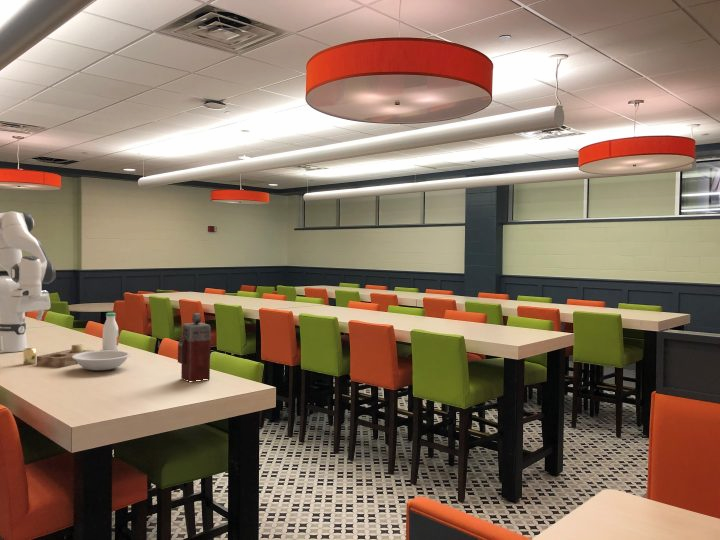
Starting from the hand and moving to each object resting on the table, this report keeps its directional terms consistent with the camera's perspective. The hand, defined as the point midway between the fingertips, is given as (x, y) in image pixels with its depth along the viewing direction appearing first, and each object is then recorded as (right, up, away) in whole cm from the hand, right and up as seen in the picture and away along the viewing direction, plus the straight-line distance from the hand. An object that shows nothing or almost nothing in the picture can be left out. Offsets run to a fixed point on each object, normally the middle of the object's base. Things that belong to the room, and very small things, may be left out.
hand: (30, 321), depth 260 cm
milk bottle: (+19, -19, +41) cm, 49 cm away
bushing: (-1, -20, 0) cm, 20 cm away
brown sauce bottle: (+82, -23, -23) cm, 88 cm away
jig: (+14, -20, +7) cm, 25 cm away
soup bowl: (+37, -21, -8) cm, 43 cm away
